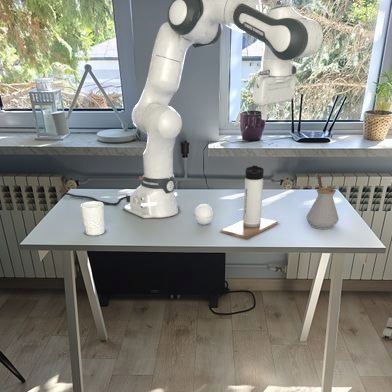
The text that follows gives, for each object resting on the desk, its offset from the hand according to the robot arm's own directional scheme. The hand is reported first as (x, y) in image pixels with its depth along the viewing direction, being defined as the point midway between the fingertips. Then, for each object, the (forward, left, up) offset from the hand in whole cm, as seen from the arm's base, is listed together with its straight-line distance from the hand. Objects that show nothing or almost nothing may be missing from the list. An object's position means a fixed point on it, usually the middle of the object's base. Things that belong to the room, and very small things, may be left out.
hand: (272, 117), depth 163 cm
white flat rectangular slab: (-4, -4, -37) cm, 37 cm away
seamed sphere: (-19, -12, -37) cm, 43 cm away
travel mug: (-4, -3, -36) cm, 36 cm away
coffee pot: (+12, +18, -37) cm, 43 cm away
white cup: (-45, -42, -37) cm, 72 cm away
